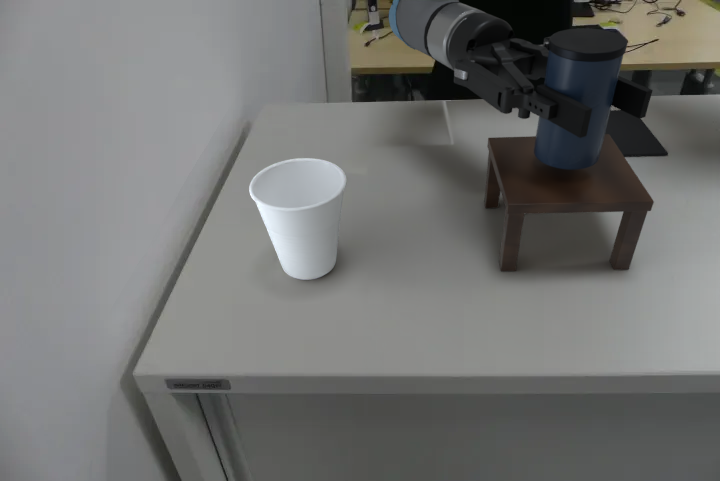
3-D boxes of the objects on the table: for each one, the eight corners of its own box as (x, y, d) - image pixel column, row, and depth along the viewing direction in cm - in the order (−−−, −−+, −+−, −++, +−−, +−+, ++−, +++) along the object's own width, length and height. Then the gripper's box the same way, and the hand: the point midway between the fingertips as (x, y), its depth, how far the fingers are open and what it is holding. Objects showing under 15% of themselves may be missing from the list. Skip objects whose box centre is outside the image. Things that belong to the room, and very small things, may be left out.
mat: (632, 111, 89) (633, 109, 89) (667, 155, 78) (668, 153, 78) (543, 114, 90) (543, 112, 90) (565, 158, 79) (565, 155, 79)
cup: (250, 285, 61) (231, 202, 55) (286, 232, 69) (273, 153, 62) (336, 301, 59) (327, 215, 52) (363, 243, 66) (358, 162, 59)
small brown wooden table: (593, 197, 71) (609, 133, 65) (631, 270, 60) (654, 201, 54) (481, 200, 72) (488, 137, 66) (499, 272, 61) (508, 204, 55)
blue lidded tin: (589, 137, 62) (613, 26, 55) (608, 169, 57) (638, 51, 49) (527, 139, 62) (542, 29, 55) (540, 171, 57) (559, 54, 50)
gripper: (531, 57, 74) (680, 124, 57) (401, 91, 68) (526, 177, 51) (539, -3, 69) (704, 51, 52) (401, 27, 63) (537, 100, 46)
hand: (616, 113), depth 52 cm, fingers closed on blue lidded tin, 7 cm apart
